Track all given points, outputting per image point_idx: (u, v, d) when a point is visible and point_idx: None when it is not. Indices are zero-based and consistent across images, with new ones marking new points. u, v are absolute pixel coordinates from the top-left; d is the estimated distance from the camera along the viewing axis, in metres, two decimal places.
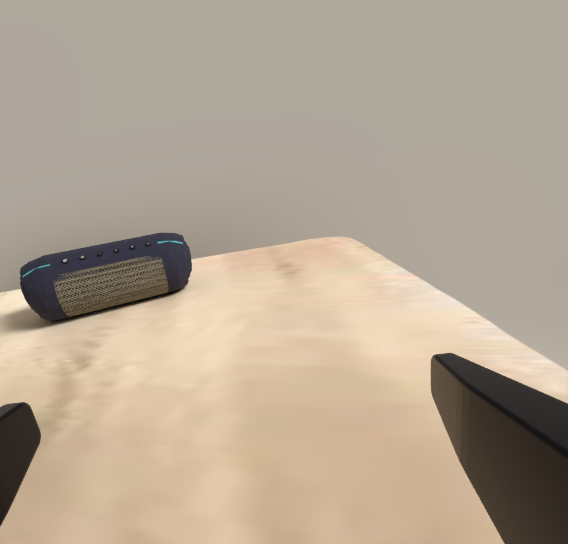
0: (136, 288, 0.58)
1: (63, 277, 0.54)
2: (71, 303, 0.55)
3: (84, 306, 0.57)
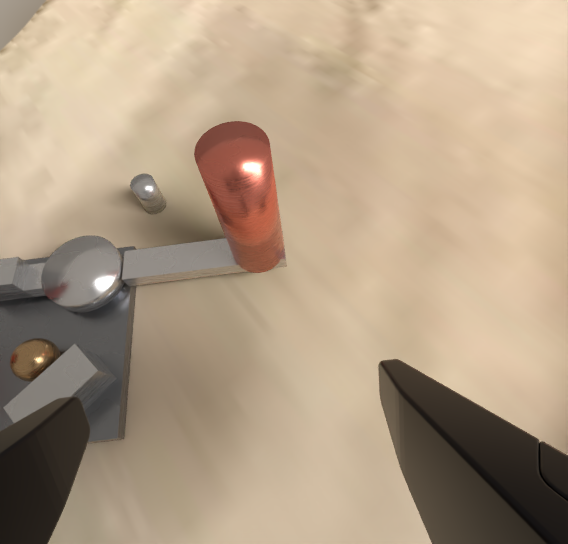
0: None
1: None
2: None
3: None
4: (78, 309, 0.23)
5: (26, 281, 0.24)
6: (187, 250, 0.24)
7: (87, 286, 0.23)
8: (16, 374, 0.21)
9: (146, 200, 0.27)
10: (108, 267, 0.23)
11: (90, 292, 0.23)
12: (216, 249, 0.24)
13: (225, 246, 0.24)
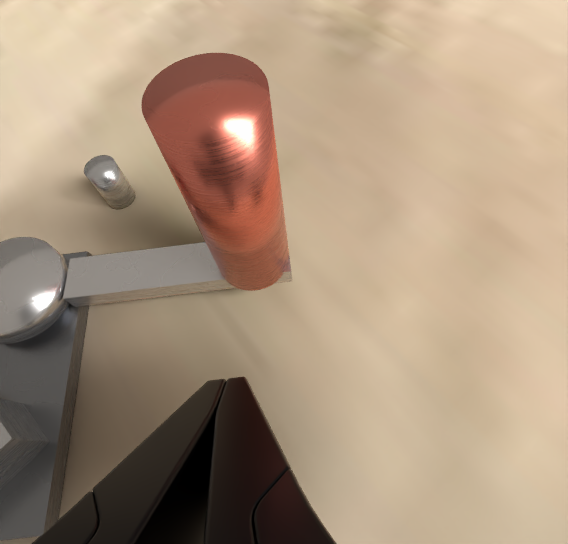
0: None
1: None
2: None
3: None
4: (1, 339, 0.16)
5: None
6: (155, 258, 0.17)
7: (14, 308, 0.16)
8: None
9: (106, 190, 0.20)
10: (45, 281, 0.17)
11: (16, 316, 0.16)
12: (195, 257, 0.17)
13: (207, 253, 0.17)
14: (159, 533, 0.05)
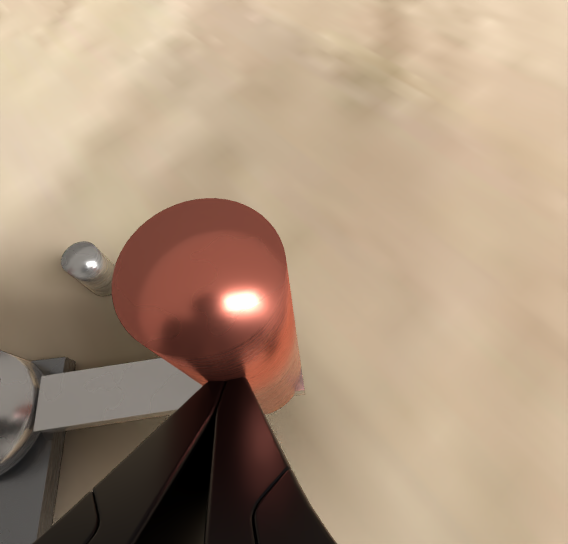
0: None
1: None
2: None
3: None
4: None
5: None
6: (143, 374, 0.15)
7: None
8: None
9: (87, 282, 0.17)
10: (11, 410, 0.14)
11: None
12: None
13: None
14: (159, 533, 0.05)
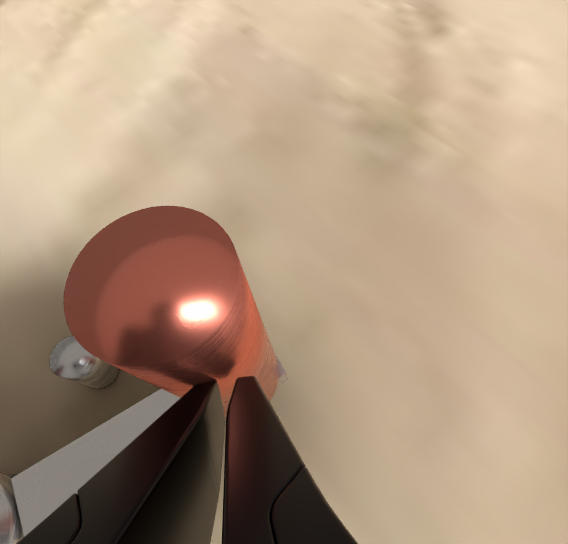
0: None
1: None
2: None
3: None
4: None
5: None
6: (123, 427, 0.14)
7: None
8: None
9: (79, 380, 0.15)
10: None
11: None
12: (170, 404, 0.14)
13: None
14: (142, 535, 0.05)
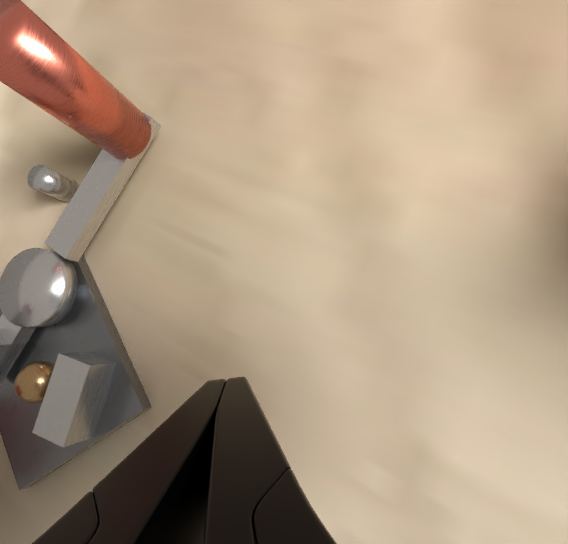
0: None
1: None
2: None
3: None
4: (62, 310, 0.23)
5: (5, 338, 0.23)
6: (84, 191, 0.24)
7: (48, 288, 0.23)
8: (28, 401, 0.22)
9: (54, 191, 0.25)
10: (46, 262, 0.23)
11: (54, 289, 0.23)
12: (101, 167, 0.23)
13: (105, 158, 0.24)
14: (159, 533, 0.05)
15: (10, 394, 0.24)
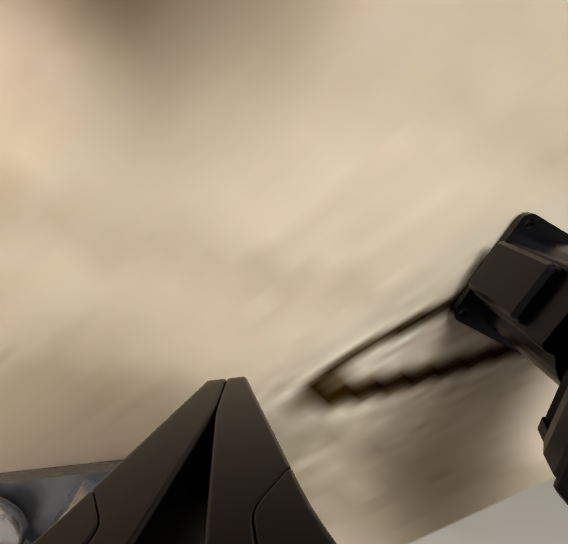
0: None
1: None
2: None
3: None
4: (11, 514, 0.23)
5: None
6: None
7: None
8: None
9: None
10: None
11: None
12: None
13: None
14: (159, 533, 0.05)
15: None
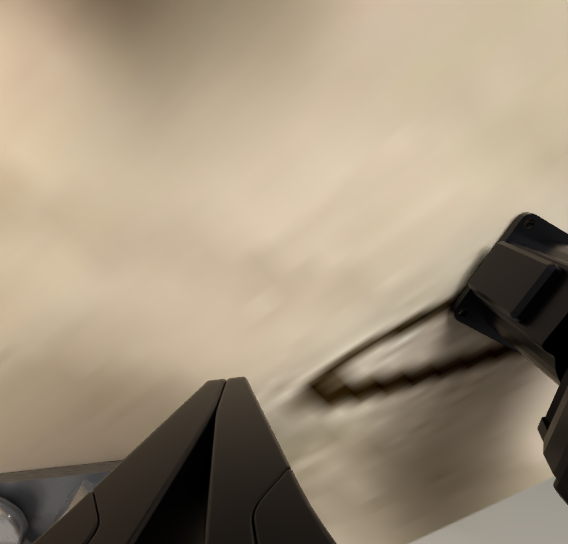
0: None
1: None
2: None
3: None
4: (11, 515, 0.23)
5: None
6: None
7: None
8: None
9: None
10: None
11: None
12: None
13: None
14: (159, 533, 0.05)
15: None
